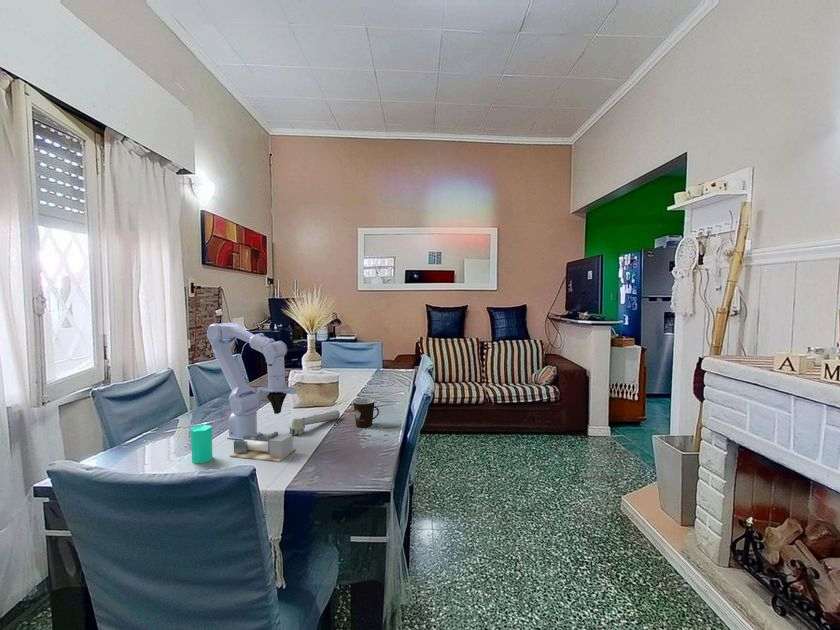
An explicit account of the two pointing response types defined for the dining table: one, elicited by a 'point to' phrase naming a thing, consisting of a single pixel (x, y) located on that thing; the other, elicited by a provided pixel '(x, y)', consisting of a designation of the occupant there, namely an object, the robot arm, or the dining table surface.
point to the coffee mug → (364, 412)
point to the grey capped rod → (312, 421)
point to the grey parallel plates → (243, 444)
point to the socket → (281, 445)
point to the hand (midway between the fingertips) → (277, 413)
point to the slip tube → (261, 444)
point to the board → (258, 456)
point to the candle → (201, 443)
